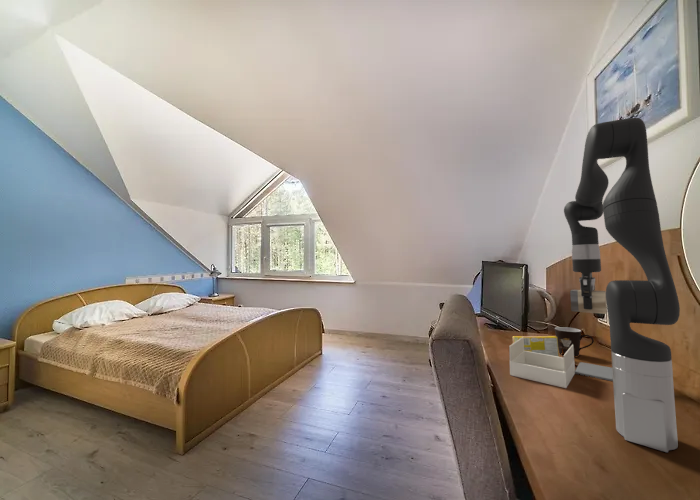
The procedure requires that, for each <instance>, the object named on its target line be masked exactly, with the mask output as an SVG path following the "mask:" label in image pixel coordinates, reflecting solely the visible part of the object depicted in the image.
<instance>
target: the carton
mask: <svg viewBox="0 0 700 500" xmlns="http://www.w3.org/2000/svg"><path fill="white" fill-rule="evenodd" d="M508 348H509V350H508V352H509V375H510V376H512V377H516V378H521V379H525V380H530V381H534V382H537V383H542V384H547V385H551V386H554V387H558V388H559V387H560V388H564V389H567V388H568V386H569V385H570V383H571V382H572V380H573V377H574V376H575V375H576V374H575V370H576V366H575V365H576V364H575V357H574V347H573V345H571V347H570V348H569V349H568V350H567V351H566V353H565V354H564V355H562V356H563V357H562V356H559V357H557V356H552V355H546V354H540V353H534V352H529V351H524V337H522V338H521V339H519V340H518V341H516V342H514V343H513V342H512V343H511V344H510V345H508Z"/></svg>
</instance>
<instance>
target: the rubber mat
mask: <svg viewBox="0 0 700 500" xmlns="http://www.w3.org/2000/svg"><path fill="white" fill-rule="evenodd" d="M579 374H580V375H579ZM574 375H579V376H584V375H585V377H589V376H590V378H594V377H595V378H594V379H600V380H604V381H609V382H613V372H612V366H611V367H609V366H606V365H605V366H604V365H598V364H594V363H588V362H582V361H580V362H579V363H578V365H577V366H576V367H575V374H574Z"/></svg>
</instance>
